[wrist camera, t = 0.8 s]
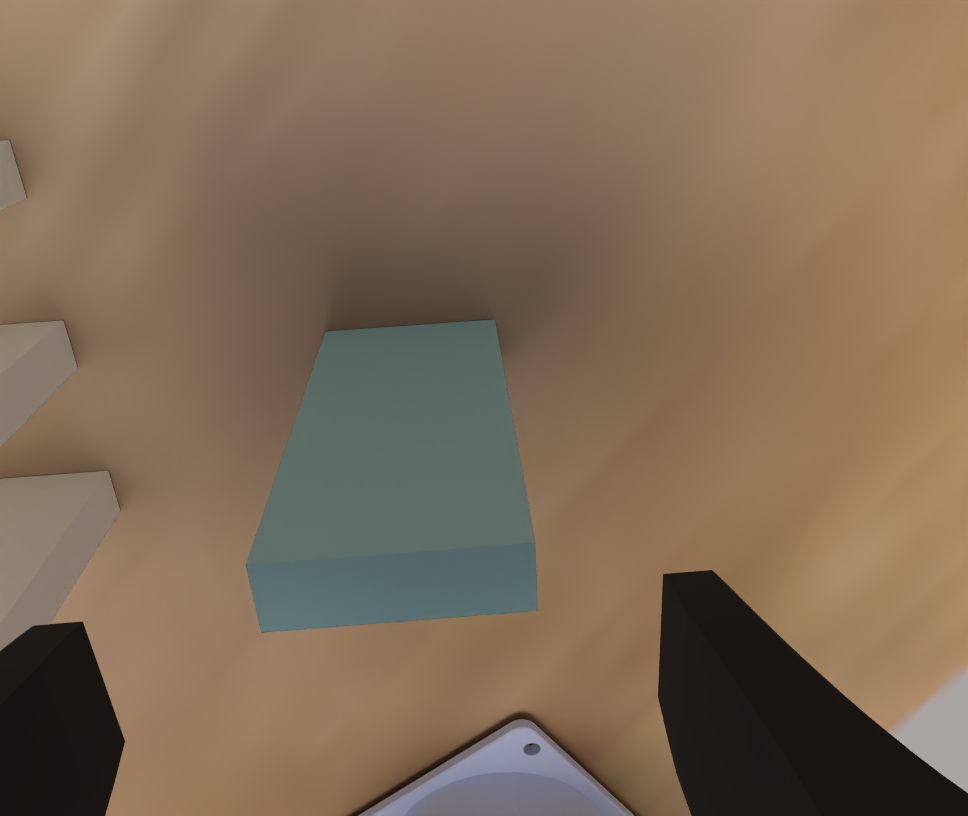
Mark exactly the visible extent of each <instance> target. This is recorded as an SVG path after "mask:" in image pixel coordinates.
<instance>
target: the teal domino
mask: <svg viewBox="0 0 968 816" xmlns="http://www.w3.org/2000/svg"><path fill="white" fill-rule="evenodd" d="M246 568H247V572H248V577H249V581H250V585H251V590H252V594H253V599H254V603H255V607H256V612H257V616H258V621H259V625H260V629H261V633H263V632H275V631H288V630H301V629H313V628H326V627H339V626H351V625H364V624H376V623H389V622H402V621H414V620H427V619H440V618H452V617H465V616H478V615H490V614H503V613H516V612H528V611H538V604H537V577H536V550H535V539H534V533H533V527H532V522H531V516H530V511H529V505H528V500H527V494H526V489H525V483H524V478H523V472H522V467H521V461H520V455H519V450H518V444H517V439H516V433H515V428H514V422H513V417H512V411H511V406H510V400H509V395H508V389H507V384H506V378H505V372H504V367H503V361H502V356H501V350H500V345H499V339H498V334H497V328H496V323H495V319H492V320H478V321H464V322H450V323H436V324H422V325H409V326H395V327H381V328H367V329H353V330H339V331H325V334H324V337H323V340H322V343H321V346H320V349H319V351H318V354H317V357H316V360H315V363H314V366H313V369H312V372H311V375H310V378H309V381H308V384H307V387H306V390H305V393H304V396H303V399H302V401H301V404H300V407H299V410H298V413H297V416H296V419H295V422H294V425H293V428H292V431H291V434H290V437H289V440H288V443H287V446H286V448H285V451H284V454H283V457H282V460H281V463H280V466H279V469H278V472H277V475H276V478H275V481H274V484H273V487H272V490H271V493H270V496H269V498H268V501H267V504H266V507H265V510H264V513H263V516H262V519H261V522H260V525H259V528H258V531H257V534H256V537H255V540H254V543H253V545H252V548H251V551H250V554H249V557H248V560H247V563H246Z"/></svg>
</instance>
